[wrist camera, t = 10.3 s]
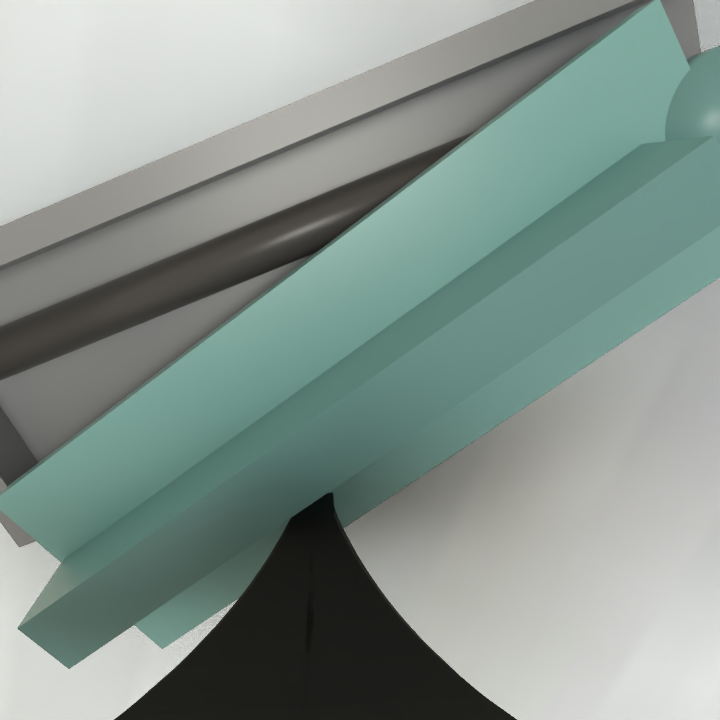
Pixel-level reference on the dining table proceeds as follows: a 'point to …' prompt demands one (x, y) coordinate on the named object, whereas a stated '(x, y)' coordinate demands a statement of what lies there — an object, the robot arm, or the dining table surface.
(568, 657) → the dining table surface
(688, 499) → the dining table surface
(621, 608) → the dining table surface
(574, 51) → the grey open box
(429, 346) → the cover
